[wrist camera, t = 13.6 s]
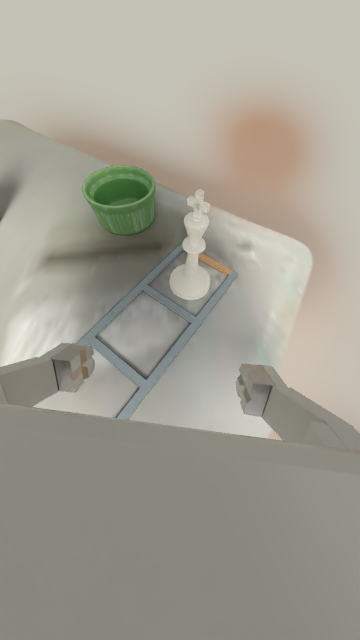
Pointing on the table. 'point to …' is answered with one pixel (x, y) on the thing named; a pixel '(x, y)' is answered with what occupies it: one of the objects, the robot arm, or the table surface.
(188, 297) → the chess piece
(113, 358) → the ladder
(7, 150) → the table surface
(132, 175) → the ramekin
